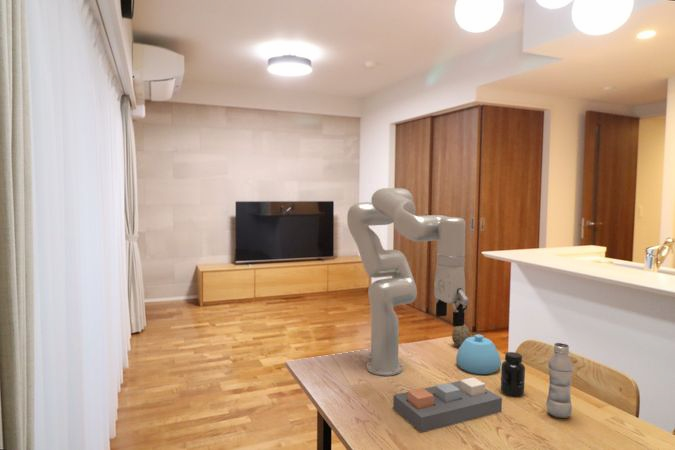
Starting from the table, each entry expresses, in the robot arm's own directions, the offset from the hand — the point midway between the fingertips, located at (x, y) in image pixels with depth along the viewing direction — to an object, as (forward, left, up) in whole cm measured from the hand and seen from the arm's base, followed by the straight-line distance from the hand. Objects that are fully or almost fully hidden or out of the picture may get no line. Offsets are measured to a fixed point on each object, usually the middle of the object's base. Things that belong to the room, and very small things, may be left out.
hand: (449, 320), depth 129 cm
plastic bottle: (+17, +25, -26) cm, 39 cm away
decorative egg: (-38, +36, -26) cm, 58 cm away
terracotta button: (+2, -11, -23) cm, 25 cm away
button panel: (+2, -1, -25) cm, 25 cm away
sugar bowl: (-19, +28, -26) cm, 43 cm away
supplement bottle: (+1, +24, -26) cm, 35 cm away
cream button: (+2, +7, -23) cm, 24 cm away
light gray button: (+2, -1, -23) cm, 23 cm away
